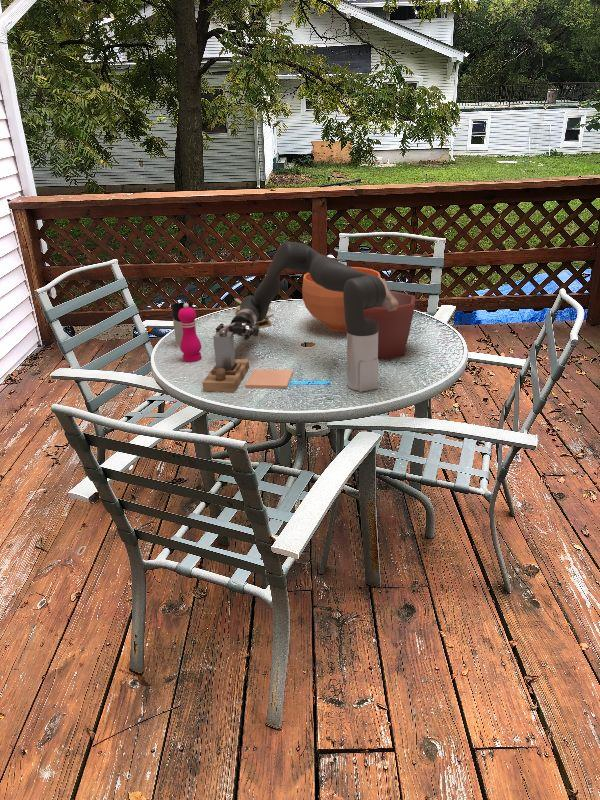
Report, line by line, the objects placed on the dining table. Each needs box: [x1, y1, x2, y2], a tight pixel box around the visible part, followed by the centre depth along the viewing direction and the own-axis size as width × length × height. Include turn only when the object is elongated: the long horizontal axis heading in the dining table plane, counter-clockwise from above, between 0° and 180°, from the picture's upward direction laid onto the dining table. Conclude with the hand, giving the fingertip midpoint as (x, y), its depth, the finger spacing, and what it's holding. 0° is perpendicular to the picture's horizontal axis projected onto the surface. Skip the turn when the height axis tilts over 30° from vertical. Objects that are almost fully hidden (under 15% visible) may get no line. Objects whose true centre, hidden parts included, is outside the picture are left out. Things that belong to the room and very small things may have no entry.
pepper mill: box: [178, 303, 202, 363], centre depth 215 cm, size 7×7×20 cm
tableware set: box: [226, 298, 279, 329], centre depth 261 cm, size 30×20×6 cm, turn 11°
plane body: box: [202, 358, 250, 393], centre depth 200 cm, size 20×10×6 cm, turn 172°
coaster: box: [244, 368, 294, 389], centre depth 199 cm, size 13×13×1 cm
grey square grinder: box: [212, 330, 236, 371], centre depth 197 cm, size 5×5×13 cm
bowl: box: [301, 266, 382, 333], centre depth 241 cm, size 30×30×20 cm
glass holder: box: [171, 301, 197, 348], centre depth 229 cm, size 9×14×15 cm, turn 28°
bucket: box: [364, 278, 416, 361], centre depth 213 cm, size 24×22×25 cm
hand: (232, 337), depth 207 cm, fingers open, 8 cm apart
